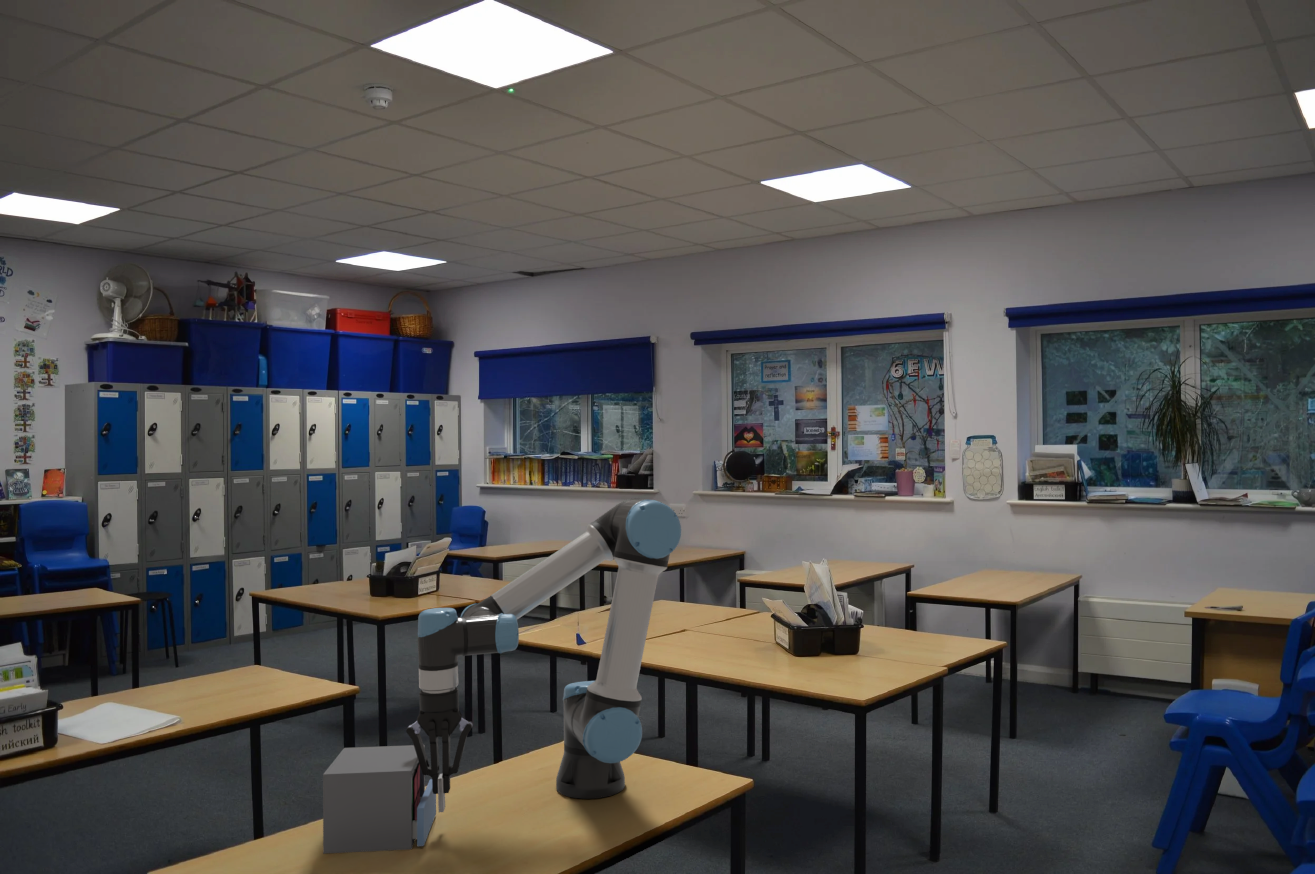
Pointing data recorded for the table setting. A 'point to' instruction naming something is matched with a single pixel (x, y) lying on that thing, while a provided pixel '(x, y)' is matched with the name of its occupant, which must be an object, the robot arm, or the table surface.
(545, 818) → the table surface
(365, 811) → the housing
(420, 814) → the tray
